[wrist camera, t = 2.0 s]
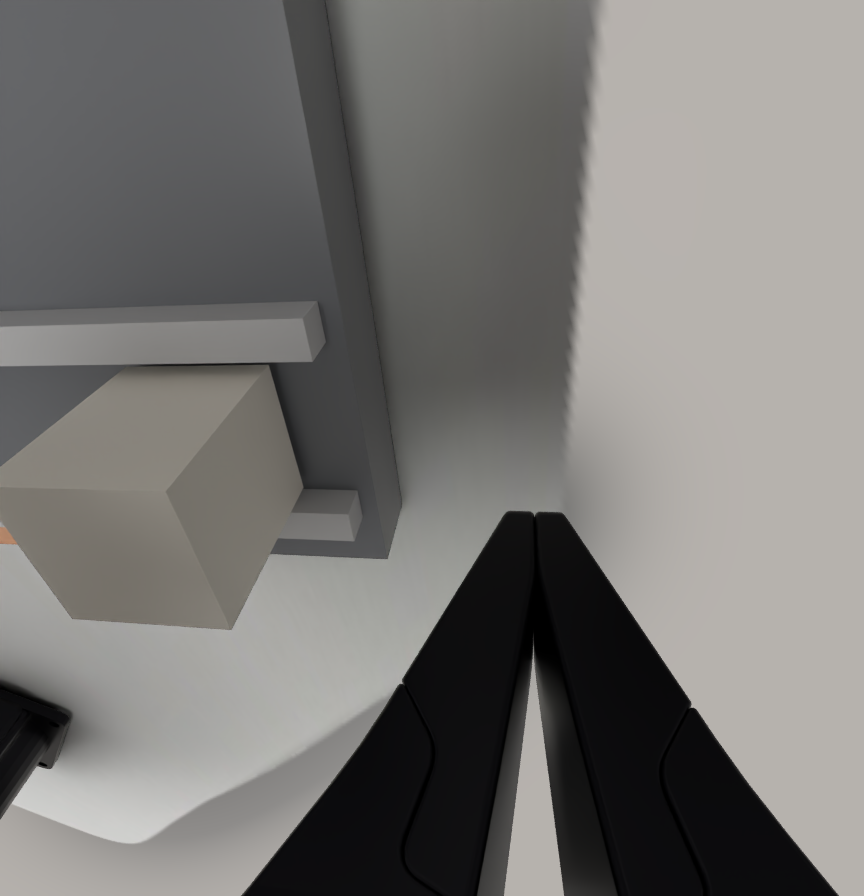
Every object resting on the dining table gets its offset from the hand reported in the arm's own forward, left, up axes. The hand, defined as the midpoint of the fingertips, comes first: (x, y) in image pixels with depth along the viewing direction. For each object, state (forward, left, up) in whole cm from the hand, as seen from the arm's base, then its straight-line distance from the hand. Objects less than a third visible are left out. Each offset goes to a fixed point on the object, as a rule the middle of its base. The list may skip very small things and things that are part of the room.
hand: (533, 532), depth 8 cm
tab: (-4, +5, -3) cm, 7 cm away
